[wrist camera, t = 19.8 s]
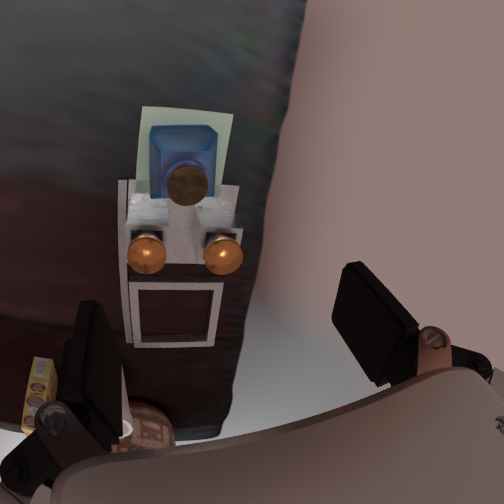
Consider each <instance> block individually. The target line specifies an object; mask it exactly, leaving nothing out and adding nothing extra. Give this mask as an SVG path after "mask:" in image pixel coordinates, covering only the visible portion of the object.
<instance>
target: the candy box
mask: <svg viewBox="0 0 504 504" xmlns="http://www.w3.org/2000/svg"><path fill="white" fill-rule="evenodd" d="M57 386H58V377H57V373H56V370H55V366H54V362H53V359H49V358H42V357H36V356H34V360H33V364H32V368H31V373H30V377H29V382H28V388H27V393H26V399H25V404H24V411H23V418H22V425H21V428H22V430H23V432H24V433H25V434H26V436H27V437H28V436H29V435H30V434H31V433H32V432H33V431H34V430H35V427H34V417H35V414H36V412H37V410H38V409H39V408H40V407H41V405H43V404H45V403H46V402H50V401H56V393H57Z"/></svg>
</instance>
